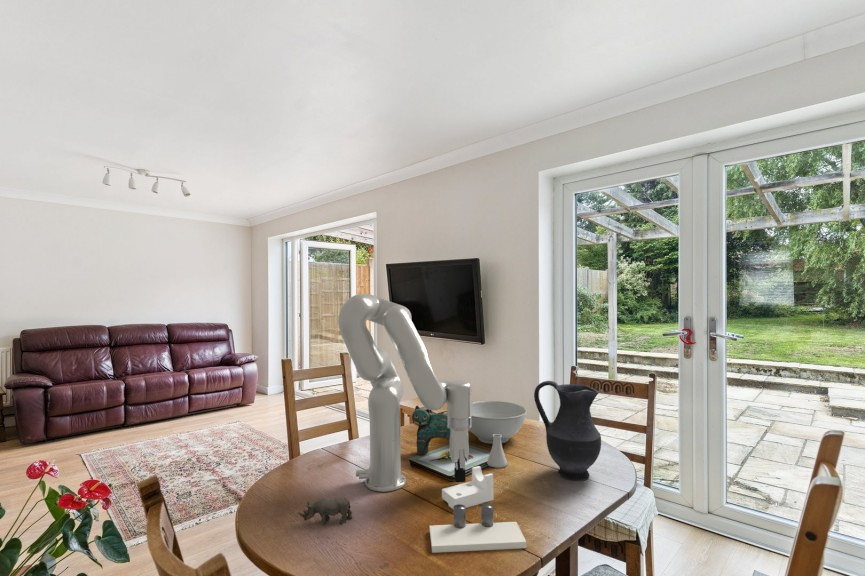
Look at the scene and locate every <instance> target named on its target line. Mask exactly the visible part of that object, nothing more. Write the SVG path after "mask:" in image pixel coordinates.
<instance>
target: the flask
mask: <svg viewBox="0 0 865 576" xmlns="http://www.w3.org/2000/svg"><path fill="white" fill-rule="evenodd" d="M492 436H493V444H492V447H491V450H490V453H489V455H488V458H487V462H486V463H487V466H488V467H491V468H506V467H507V466H508V464H509V463H508V460H507V458H506V455H505V452H504V449H503V443H501V437H502V435H500V434H493V435H492Z"/></svg>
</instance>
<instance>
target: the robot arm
mask: <svg viewBox="0 0 865 576" xmlns="http://www.w3.org/2000/svg"><path fill="white" fill-rule="evenodd" d="M367 321H369V322H372V323H375V324H378V325H380V326H383V327H384V329H385V331H386V332H387V335H388V336H389V339H390V341H391V342H392V344H393V347H394V348H395V350H396V352H397V353H398V356H399V358H400V359H401V361H402V364H403V367H404V370H405V372H406V374H407V377H408V378H409V379H408V380H409V381H410V384H411V386H412V387H413V390H414V391H415V394H416V395H417V398H418V399H419V401H420V403H421V405H422V406H423V407H426V408H427V409H429V410H431V411H438V410H440V409H441V408H443V407H444V405H445V404H446V406H447V407H446V409H447V410H446V411H447V412H446V413H447V427H448V428H450V440H449V451H448V452H449V455H450V459H451V462H452V463H454V470H453V471H454V478H453V479H454V483H466V463H468V461H469V457H470V456H469V454H470V453H469V450H470V449H469V429H470V428H471V427H472V417H471V403H472V385H471V383H470V382H468V381H466V380H451V381H449V380H445V379H444V380H443V379H438V378H437V376H436V374H435V373H434V371H433V368H432V365H431V363H430V359H429V355H428V350H427V348H426V345H425V343H424V341H423V339H422V338H421V335H420V334H419V332H418V330H417V328H416V326H415V324H414V322H413V321H412V313H411V311H410V309H408V308H407V307H406V306H404V305H401V304H398V303H395V302H392V301H390V300H387V299H384V298H381V297H379V296H375V295H373V294H369V293H360V294H359V293H358V294H355V295H353V296H351V297H349V298H348V299H347V300H346V301H345V302H344V303H343V305H342V307H341V308H340V311H339V313H338V317H337V323H338V324H337V325H338V330H339V332H340V335H341V338H342V341H343V342H344V344H345V346H346V348H347V352H348V354H349V355H350V358H351V360H352V362H353V364H354V367H355V369H356V371H357V374H358V376H359V377H360V378H361V379H363V380H364V381H366V382H369V383H370V384H371V387H372V389H371V390H370V392H369V394H368V401H367V403H368V406H367V409H368V417H369V460H370V461H369V463H370V464H369V468H366V469H356V470H355V477H358V479H359V480H363V479H365V480H364V482H365V483H364V485H365V487H366V488H368V489H369V490H372V491H375V492H383V493H384V492H393V491H396V490H398V489H401V488H403V487H404V486H405V485H406V483H407V482H406V481H407V479H406V476H405V475H404V474H403V473H402V471H401V469H402V467H401V466H402V465H401V461H402V460H401V459H402V458H401V457H402V456H401V454H402V451H401V446H402V445H401V444H402V443H401V442H402V441H401V439H402V438H401V413H400V412H401V410H400V403H401V400H402V398H403V396H404V386H403V383H402V379H400V375H399V374H398V372H397V369H396V368H395V365H394V363H393V361H392V360H391V357H390V355H389V353H388V352H387V351H386V350H385V349H383V348H382V347H377V345H376V343H375V341H374V338H373V336H372V333H371V332H370V330H369V329H368V327H367Z"/></svg>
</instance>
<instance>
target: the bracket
mask: <svg viewBox="0 0 865 576" xmlns="http://www.w3.org/2000/svg"><path fill="white" fill-rule="evenodd" d="M441 498H442V500H444V501H445V502H446V503H447V505H448V507H450V508H451V509H452V510H453V511H454V506H455V505H457V504H461V505H464V506H465V507H466V508H471V507H475V506H477V505H480V504H481V505H482V504H484V503H487V502H492V501H494V499H495V498H494V474H493V473H492V472H491V473H486V474H483V471H482V466H479V465H478V466H474V467H471V480H470V481H468V482H462V483H459V484H455V485H452V486H448V487H444V488H442V489H441Z"/></svg>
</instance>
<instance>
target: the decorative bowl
mask: <svg viewBox="0 0 865 576" xmlns="http://www.w3.org/2000/svg"><path fill="white" fill-rule="evenodd" d="M527 414H528V409H527V408H526V407H525V406H523V405H521V404H518V403H514V402H508V401H501V400H481V401H473V402H472V401H471V417H472V427H471V428H470V429H468V431H469V432H471V433H472V434H473V435H475V436H476V437H477V438H478V440H479V441H480V442H481V443H484V444H490V445H493V436H492V435H493V434H500V435H502V437H501V444H505V443H507V442H509V440H510V438H512V437H514V436H515V435H516V434H517V433H518V432H519V431H520V429H521V428H522V427H523V424H524V422H525V420H526V417H527Z"/></svg>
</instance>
